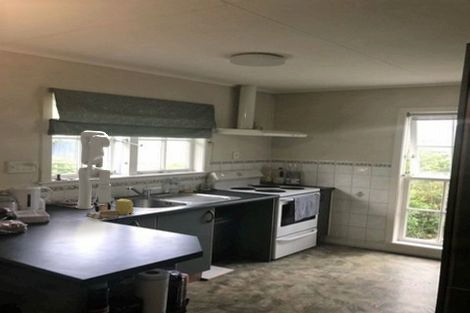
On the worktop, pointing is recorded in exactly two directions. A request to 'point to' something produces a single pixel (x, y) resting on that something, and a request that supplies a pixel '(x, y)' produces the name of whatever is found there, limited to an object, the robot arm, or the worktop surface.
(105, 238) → the worktop surface
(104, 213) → the lane
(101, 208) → the jar
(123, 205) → the yellow rounded block
